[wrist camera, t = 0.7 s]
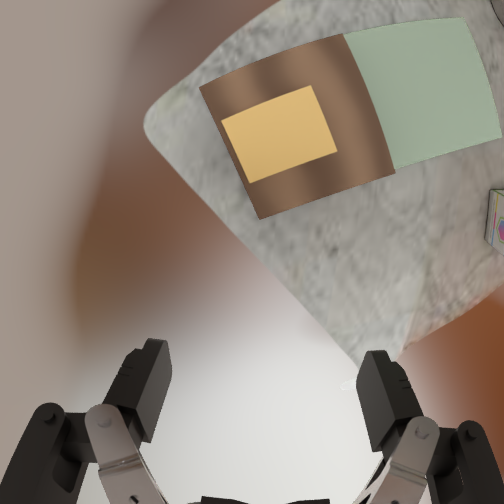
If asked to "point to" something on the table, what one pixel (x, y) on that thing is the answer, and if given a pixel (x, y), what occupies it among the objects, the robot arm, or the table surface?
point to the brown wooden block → (335, 113)
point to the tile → (279, 134)
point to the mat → (426, 87)
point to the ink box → (496, 221)
